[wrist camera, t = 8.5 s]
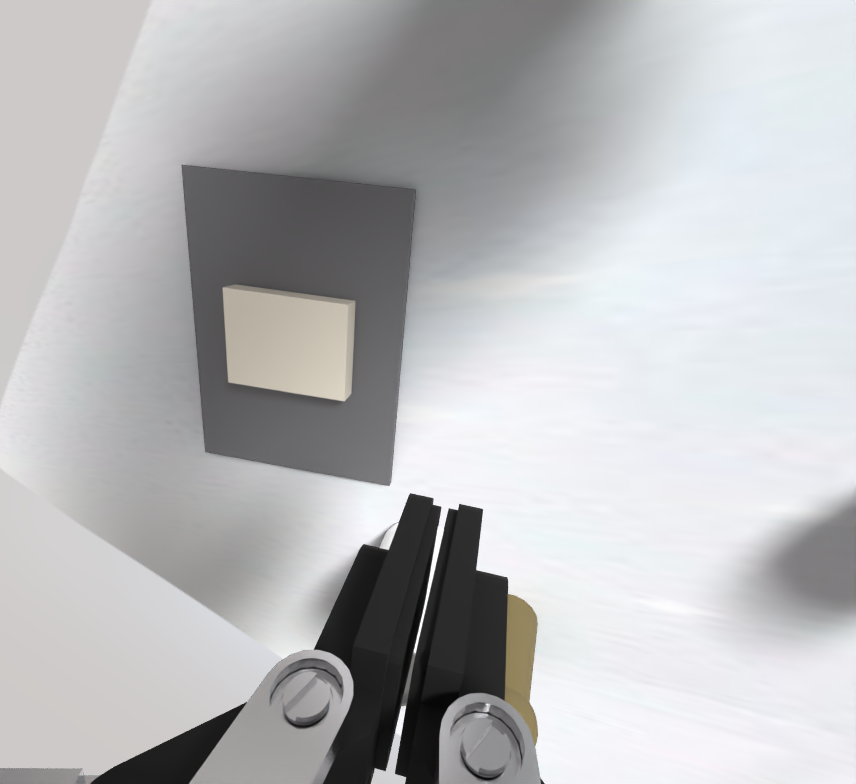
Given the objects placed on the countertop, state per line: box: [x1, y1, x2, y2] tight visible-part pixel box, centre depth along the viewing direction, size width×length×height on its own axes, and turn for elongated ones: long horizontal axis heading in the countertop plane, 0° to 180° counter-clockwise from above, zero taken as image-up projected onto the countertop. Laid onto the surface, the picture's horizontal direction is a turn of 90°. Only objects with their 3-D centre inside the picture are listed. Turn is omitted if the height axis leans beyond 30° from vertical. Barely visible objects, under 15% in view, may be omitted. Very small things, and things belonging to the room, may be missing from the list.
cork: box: [505, 594, 538, 745], centre depth 36 cm, size 6×6×11 cm
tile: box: [223, 284, 356, 401], centre depth 34 cm, size 7×2×9 cm
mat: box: [182, 165, 416, 486], centre depth 35 cm, size 22×16×1 cm
